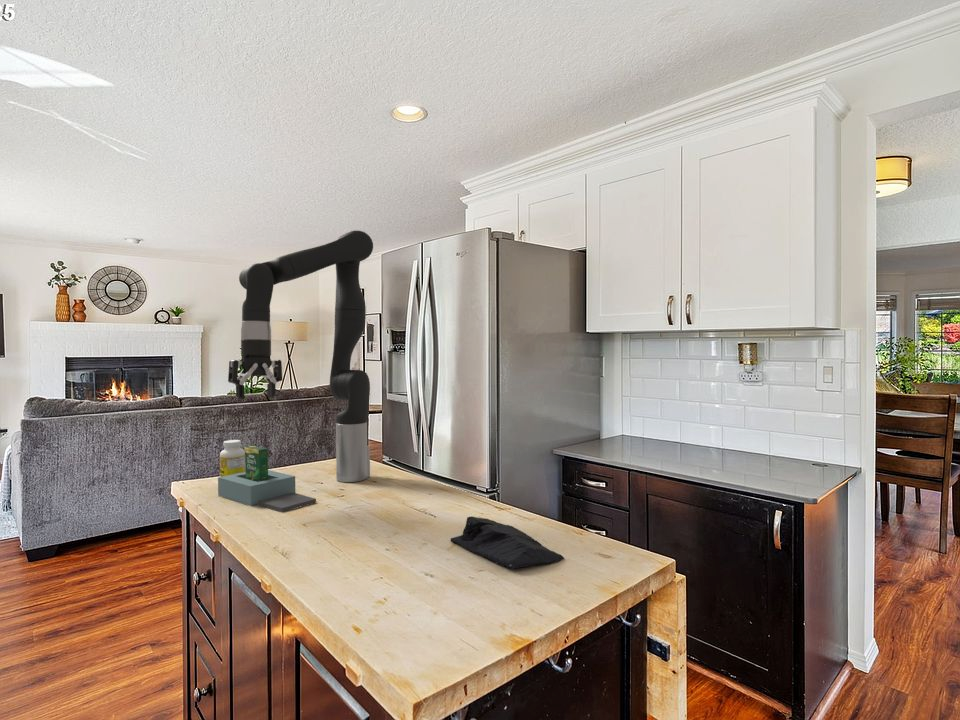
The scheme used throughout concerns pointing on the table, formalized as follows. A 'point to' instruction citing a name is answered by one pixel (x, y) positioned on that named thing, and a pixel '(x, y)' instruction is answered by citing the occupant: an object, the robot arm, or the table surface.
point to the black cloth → (503, 544)
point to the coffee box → (256, 463)
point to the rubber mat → (286, 502)
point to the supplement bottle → (232, 458)
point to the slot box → (255, 487)
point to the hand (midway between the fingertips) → (256, 398)
